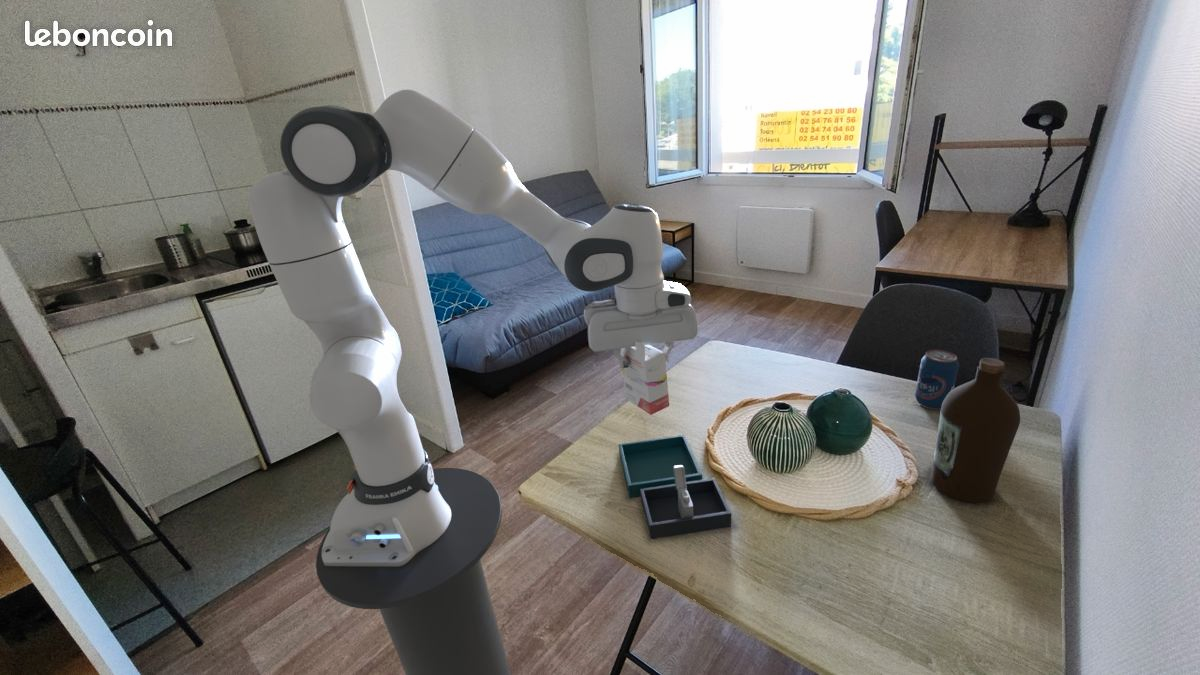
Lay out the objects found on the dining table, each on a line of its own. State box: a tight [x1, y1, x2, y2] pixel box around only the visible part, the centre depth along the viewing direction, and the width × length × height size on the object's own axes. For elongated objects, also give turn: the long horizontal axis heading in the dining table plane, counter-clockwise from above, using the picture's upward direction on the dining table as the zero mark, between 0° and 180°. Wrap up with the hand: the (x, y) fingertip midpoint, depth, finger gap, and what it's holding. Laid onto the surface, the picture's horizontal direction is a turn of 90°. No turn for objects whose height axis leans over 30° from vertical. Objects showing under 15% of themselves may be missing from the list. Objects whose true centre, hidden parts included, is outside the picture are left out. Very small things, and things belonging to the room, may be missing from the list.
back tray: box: [618, 434, 703, 499], centre depth 101 cm, size 14×13×3 cm
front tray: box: [640, 477, 732, 540], centre depth 90 cm, size 14×9×3 cm, turn 96°
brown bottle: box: [930, 357, 1021, 504], centre depth 85 cm, size 11×11×25 cm
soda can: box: [914, 349, 960, 410], centre depth 111 cm, size 7×7×12 cm
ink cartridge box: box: [620, 341, 670, 416], centre depth 96 cm, size 9×5×15 cm, turn 33°
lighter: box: [673, 465, 693, 519], centre depth 89 cm, size 7×2×8 cm, turn 6°
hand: (644, 364), depth 96 cm, fingers closed on ink cartridge box, 6 cm apart
